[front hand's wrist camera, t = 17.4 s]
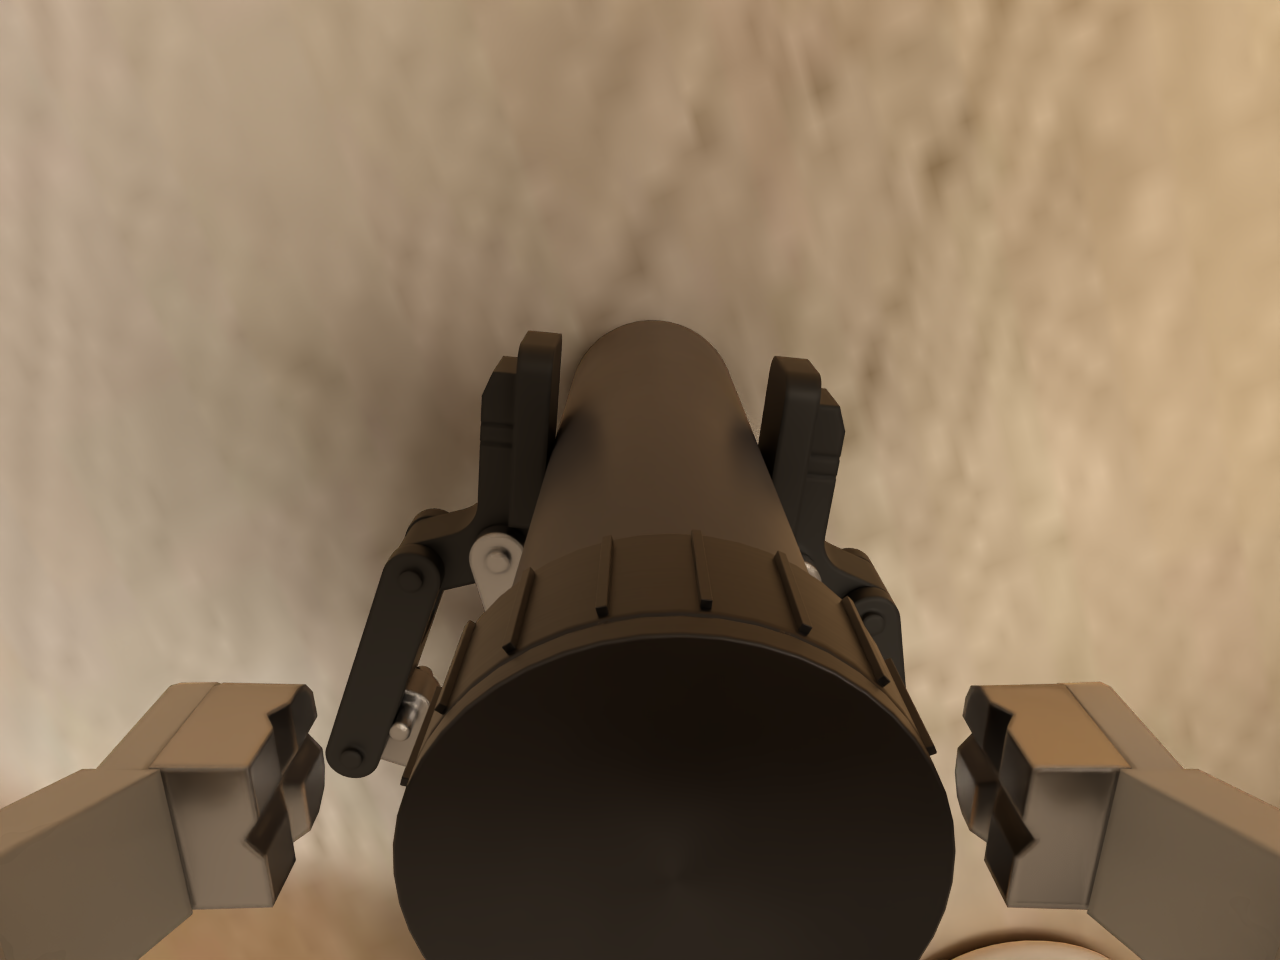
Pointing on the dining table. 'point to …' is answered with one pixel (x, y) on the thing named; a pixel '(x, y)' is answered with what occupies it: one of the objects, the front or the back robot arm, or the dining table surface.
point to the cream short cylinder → (1032, 952)
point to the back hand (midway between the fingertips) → (668, 355)
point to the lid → (672, 771)
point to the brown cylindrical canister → (654, 452)
